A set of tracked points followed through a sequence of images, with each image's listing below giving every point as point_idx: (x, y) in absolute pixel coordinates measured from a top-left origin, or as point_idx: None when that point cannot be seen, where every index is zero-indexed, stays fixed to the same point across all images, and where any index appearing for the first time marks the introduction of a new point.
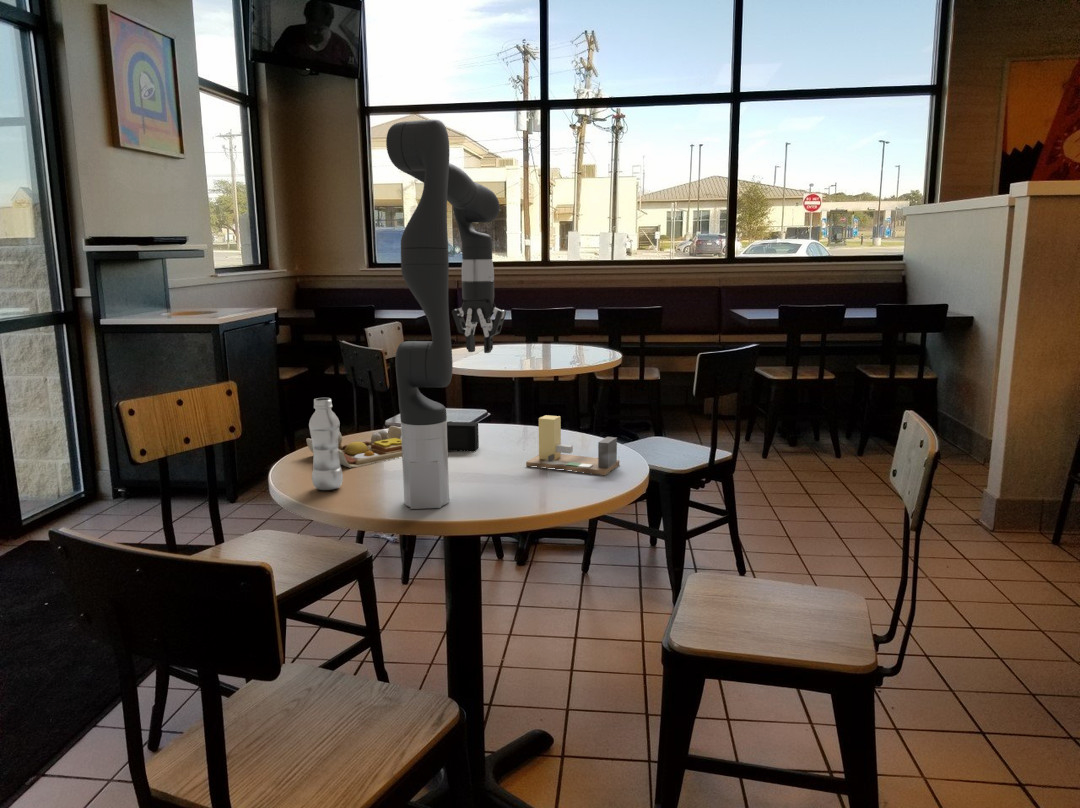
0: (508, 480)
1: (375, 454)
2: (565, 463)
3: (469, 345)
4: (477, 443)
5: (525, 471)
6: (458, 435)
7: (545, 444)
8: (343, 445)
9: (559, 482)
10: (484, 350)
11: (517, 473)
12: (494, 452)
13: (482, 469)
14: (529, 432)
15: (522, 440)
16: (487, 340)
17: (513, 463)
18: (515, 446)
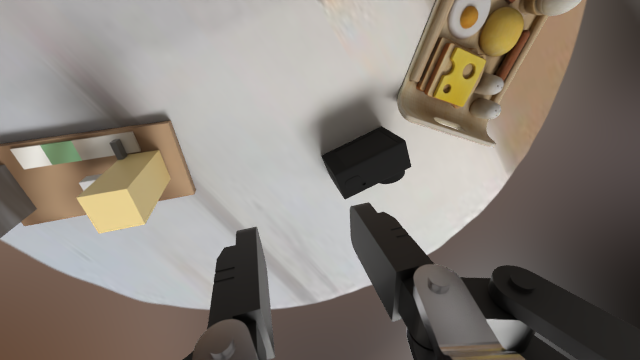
0: (115, 6)
1: (459, 26)
2: (80, 147)
3: (373, 225)
4: (329, 173)
5: (144, 91)
6: (357, 153)
7: (132, 164)
8: (531, 43)
9: (3, 51)
10: (252, 232)
11: (146, 69)
12: (289, 168)
13: (230, 59)
14: (314, 277)
15: (296, 243)
16: (235, 303)
17: (210, 127)
18: (283, 213)
